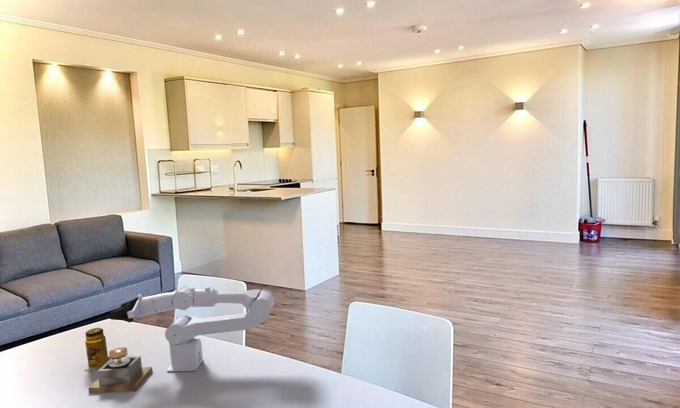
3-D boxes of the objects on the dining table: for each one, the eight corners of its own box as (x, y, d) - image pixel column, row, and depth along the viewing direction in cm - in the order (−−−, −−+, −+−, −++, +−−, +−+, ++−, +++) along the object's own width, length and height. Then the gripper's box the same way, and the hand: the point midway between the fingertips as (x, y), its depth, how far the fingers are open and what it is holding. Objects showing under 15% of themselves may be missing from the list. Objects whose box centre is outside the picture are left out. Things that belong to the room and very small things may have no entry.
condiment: (85, 371, 155) (80, 336, 153) (90, 359, 163) (85, 326, 161) (109, 366, 157) (105, 332, 155) (113, 356, 165) (109, 323, 163)
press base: (152, 371, 152) (150, 353, 151) (135, 391, 140) (133, 372, 139) (109, 372, 153) (107, 355, 152) (88, 392, 141) (86, 373, 140)
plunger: (133, 357, 148) (132, 346, 148) (124, 366, 143) (123, 355, 142) (114, 358, 149) (113, 346, 148) (104, 367, 143) (103, 355, 142)
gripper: (162, 285, 159) (123, 293, 159) (144, 299, 144) (101, 307, 145) (167, 305, 160) (128, 313, 160) (150, 320, 145) (107, 329, 146)
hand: (116, 311), depth 152 cm, fingers open, 7 cm apart
